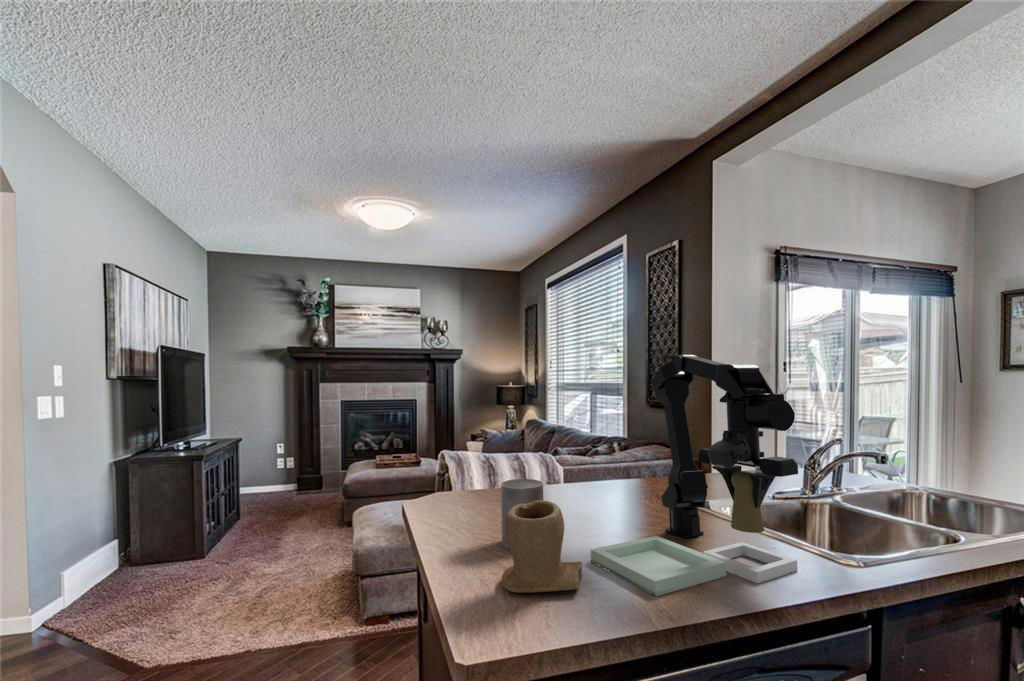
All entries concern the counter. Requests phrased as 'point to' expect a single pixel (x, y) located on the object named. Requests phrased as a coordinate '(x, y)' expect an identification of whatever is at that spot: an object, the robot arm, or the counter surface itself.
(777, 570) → the collar block
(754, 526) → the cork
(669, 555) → the tray
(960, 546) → the counter surface
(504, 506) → the pillar candle
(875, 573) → the counter surface
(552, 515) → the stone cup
